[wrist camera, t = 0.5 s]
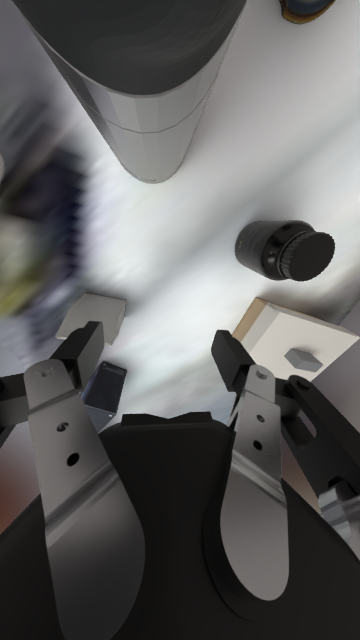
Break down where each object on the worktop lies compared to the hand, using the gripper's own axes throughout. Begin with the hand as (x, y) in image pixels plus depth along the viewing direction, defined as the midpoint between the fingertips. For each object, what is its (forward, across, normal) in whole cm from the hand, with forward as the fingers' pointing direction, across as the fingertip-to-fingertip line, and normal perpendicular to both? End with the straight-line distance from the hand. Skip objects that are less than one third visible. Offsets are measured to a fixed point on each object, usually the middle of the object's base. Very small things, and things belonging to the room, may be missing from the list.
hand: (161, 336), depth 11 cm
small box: (+20, +11, +27) cm, 35 cm away
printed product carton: (+19, +9, +7) cm, 22 cm away
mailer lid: (+14, -27, +10) cm, 32 cm away
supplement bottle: (+18, -15, -7) cm, 24 cm away
